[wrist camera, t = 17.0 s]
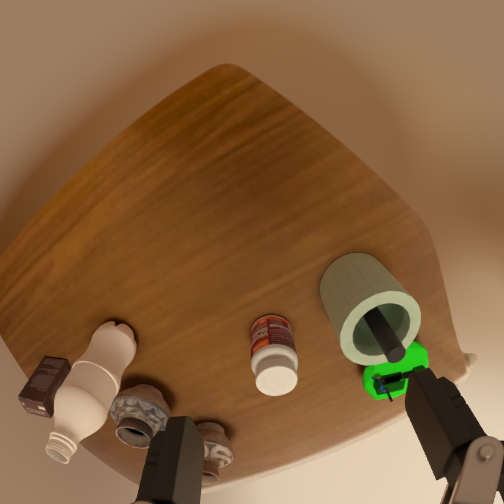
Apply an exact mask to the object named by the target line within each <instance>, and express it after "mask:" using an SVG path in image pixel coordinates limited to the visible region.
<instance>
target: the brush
mask: <svg viewBox="0 0 504 504" xmlns="http://www.w3.org/2000/svg"><path fill="white" fill-rule="evenodd" d="M363 318H364V319H365V321H366V323H367V325H368V326H369V328H370V330H371V332H372V333H373V335H374V337H375V339H376V340H377V342H378V344H379V346H380V348H381V349H382V351H383V353H384V355H385V357H386V358H387V360H388V362H390V363H397V362H399V361H401V360H402V359H403V358H404V357H405V355H406V349H405V348H404V346H403V344H402V343H401V341H400V340H399V338H398V337H397V335H396V334H395V332H394V331H393V329H392V328H391V326H390V325H389V323H388V322H387V320H386V319H385V317H384V316H383V314H382V313H381V312H380V310H379V309H378V307H377V306H376V307H374V308H372V309H370V310H369V311H368V312H366V313H365V314H364V315H363Z"/></svg>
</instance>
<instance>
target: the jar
mask: <svg viewBox="0 0 504 504" xmlns="http://www.w3.org/2000/svg"><path fill="white" fill-rule="evenodd" d="M320 297H321V300H322V303H323V305H324V307H325V310H326V312H327V315H328V317H329V319H330V322H331V324H332V327H333V329H334V332H335V334H336V337H337V339H338V341H339V344H340V346H341V348H342V350H343V352H344V354H345V356H346V357H347V358H349V359H350V360H351V361H352V362H355V363H358V364H361V365H378V364H381V363H385V362H388V360H387V358H386V357H385V355H384V353H383V351H382V349H381V348H380V346H379V344H378V342H377V340H376V339H375V337H374V335H373V333H372V332H371V330H370V328H369V326H368V325H367V323H366V321H365V319H364V318H363V315H364V314H365V313H366V312H368V311H369V310H370V309H372V308H374V307H376V306H377V307H378V309H379V310H380V312H381V313H382V314H383V316H384V317H385V319H386V320H387V322H388V323H389V325H390V326H391V328H392V329H393V331H394V332H395V334H396V335H397V337H398V338H399V340H400V341H401V343H402V344H403V346H404V348H405V349H407V348H408V347H409V345H410V344H411V343H412V341H413V340H414V339H415V337H416V335H417V332H418V330H419V327H420V321H421V312H420V309H419V305H418V303H417V302H416V301H415V300H414V299H413V297H412V296H411V295H410V294H409V293H408V292H407V291H406V290H405V288H404V287H403V286H402V285H401V284H400V283H399V282H398V281H397V280H396V279H395V278H394V277H393V276H392V274H391V273H390V272H389V271H388V270H387V269H386V268H385V267H384V266H383V265H382V264H381V263H380V262H379V261H378V260H377V259H376V258H374V257H373V256H371V255H369V254H365V253H350V254H347V255H344V256H342V257H340V258H338V259H337V260H335V261H334V262H333V263H332V264H331V265H330V266H329V267H328V268H327V269H326V271H325V273H324V274H323V276H322V279H321V283H320Z"/></svg>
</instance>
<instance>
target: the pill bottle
mask: <svg viewBox="0 0 504 504" xmlns="http://www.w3.org/2000/svg"><path fill="white" fill-rule="evenodd" d="M297 367H298V357H297V352H296V348H295V343H294V338H293V334H292V329H291V326H290V324H289V323H288V321H287V320H285V319H284V318H282V317H280V316H276V315H267V316H264V317H261V318H260V319H258V320H257V321H256V322H255V323H254V324H253V326H252V328H251V368H252V371H253V373H254V374H255V378H256V385H257V388H258V389H259V390H260V391H261V392H262V393H264V394H267V395H271V396H279V395H283V394H286V393H288V392H290V391H291V390H292V389H293V388H294V387H295V386H296V384H297V372H296V370H297Z"/></svg>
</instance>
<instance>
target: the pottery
mask: <svg viewBox="0 0 504 504" xmlns="http://www.w3.org/2000/svg"><path fill="white" fill-rule="evenodd" d="M109 413H110V416H111V418H112V419H113V421H114V422H115V423H116V424H117V425H118V426H117V428H116V435H117V437H118V438H119V439H120V440H121V441H122V442H124V443H125V444H127V445H129V446H132V447H135V448H148V447H149V445H150V441H151V440H152V438H153V437H154V436H155V434H156V433H157V431H165V428H166V423H167V420H168V418H169V417H172V415H171V411H170V409H169V407H168V405H167V403H166V402H165V401H164V399H163V396H162V393H161V392H160V391H159V390H158V389H156V388H155V387H153V386H150V385H147V384H139V385H136V386H134V387H133V388H128V389H126V390H123V391H122V392H120V393H119V394H118V395H116V396H115V398H114V400H113V402H112V405H111V407H110V409H109ZM196 428H197V430H198V431H199V433H200V435H201V437H202V438H203V441H204V446H205V456H204V466H203V476H202V484H203V485H214V484H217V483H218V482H219V481H220V478H219V474H218V468H221V467H224V466H226V465H228V464H230V463H231V462H232V461H233V460H234V451H233V448H232V446H231V443H230V441H229V439H228V438H227V437H226V436H225V435H224V429H223V427H222V426H220V425H219V424H217V423H213V422H204V423H200V424H199V425H197V426H196Z"/></svg>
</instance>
